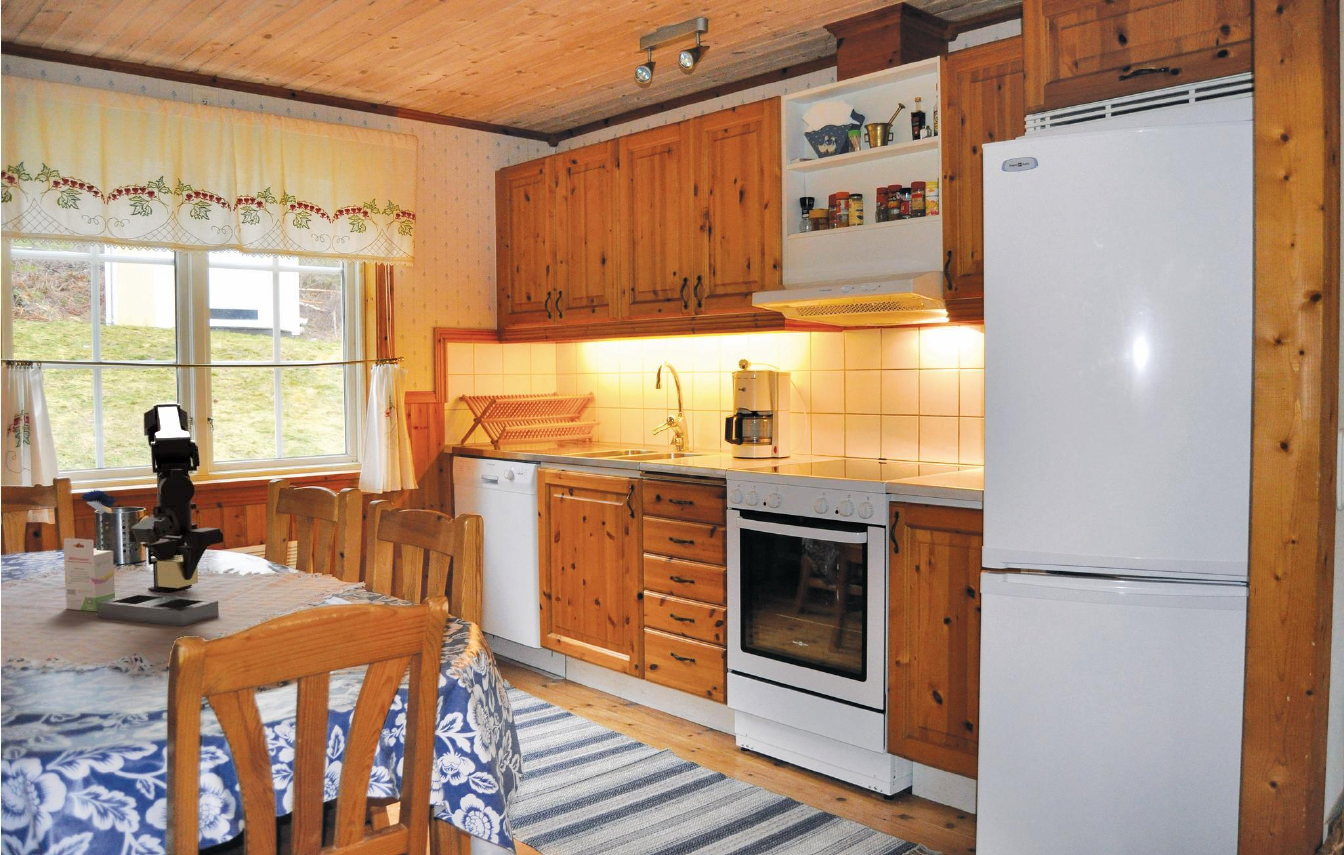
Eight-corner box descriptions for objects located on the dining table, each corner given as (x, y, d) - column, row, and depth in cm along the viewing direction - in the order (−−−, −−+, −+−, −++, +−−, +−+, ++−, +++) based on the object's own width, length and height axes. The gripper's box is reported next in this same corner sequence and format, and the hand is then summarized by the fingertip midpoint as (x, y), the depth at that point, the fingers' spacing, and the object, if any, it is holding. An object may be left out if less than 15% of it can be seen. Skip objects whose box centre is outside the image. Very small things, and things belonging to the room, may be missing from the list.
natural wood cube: (158, 586, 196) (157, 560, 196) (178, 580, 201) (177, 556, 201) (177, 588, 195) (176, 562, 194) (198, 582, 199) (197, 557, 199)
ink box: (117, 606, 209) (114, 535, 208) (96, 612, 204) (93, 539, 203) (85, 603, 212) (82, 534, 211) (64, 609, 207) (61, 537, 206)
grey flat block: (97, 617, 200) (97, 602, 200) (136, 607, 208) (135, 592, 208) (182, 626, 192) (181, 611, 192) (218, 615, 200) (218, 600, 200)
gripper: (103, 503, 193) (106, 583, 194) (177, 507, 186) (180, 590, 187) (152, 495, 203) (155, 572, 204) (224, 499, 196) (226, 578, 197)
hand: (177, 578), depth 198 cm, fingers closed on natural wood cube, 5 cm apart
